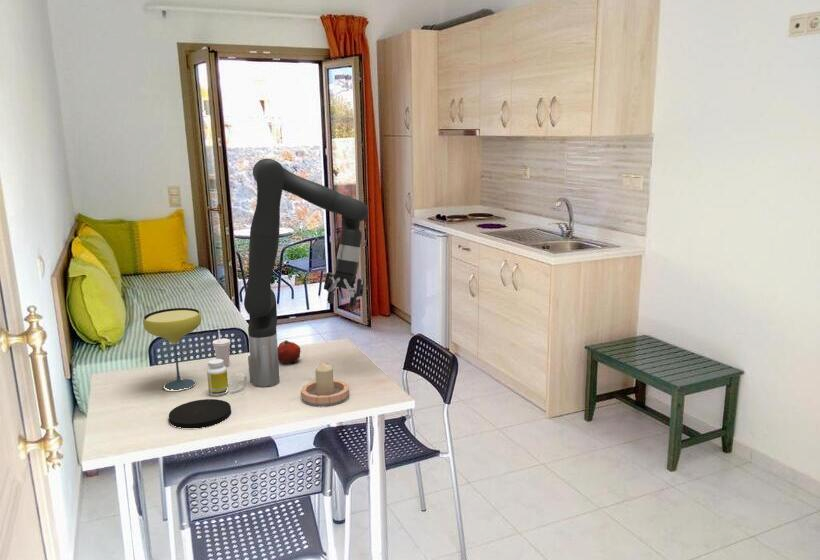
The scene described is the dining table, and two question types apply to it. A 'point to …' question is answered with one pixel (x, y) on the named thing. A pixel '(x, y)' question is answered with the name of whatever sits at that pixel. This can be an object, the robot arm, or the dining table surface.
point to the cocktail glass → (173, 333)
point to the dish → (313, 399)
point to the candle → (324, 379)
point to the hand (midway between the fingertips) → (340, 305)
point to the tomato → (288, 352)
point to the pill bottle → (217, 377)
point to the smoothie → (222, 349)
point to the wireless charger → (200, 413)
